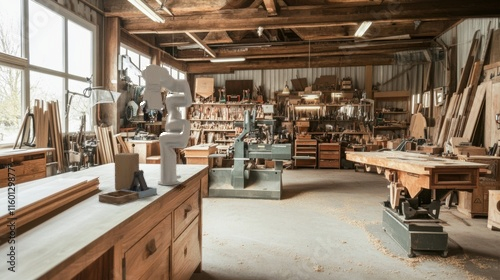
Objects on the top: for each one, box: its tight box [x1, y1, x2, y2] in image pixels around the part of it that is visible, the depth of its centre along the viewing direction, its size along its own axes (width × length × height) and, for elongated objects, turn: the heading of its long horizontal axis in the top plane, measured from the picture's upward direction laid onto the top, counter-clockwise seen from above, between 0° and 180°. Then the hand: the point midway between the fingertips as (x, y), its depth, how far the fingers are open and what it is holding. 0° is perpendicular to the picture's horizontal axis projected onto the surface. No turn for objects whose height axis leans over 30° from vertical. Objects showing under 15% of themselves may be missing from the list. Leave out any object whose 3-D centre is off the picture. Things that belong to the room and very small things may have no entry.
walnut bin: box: [98, 190, 139, 205], centre depth 153 cm, size 12×12×3 cm
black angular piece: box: [129, 169, 149, 192], centre depth 164 cm, size 9×6×12 cm, turn 88°
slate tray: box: [122, 185, 158, 199], centre depth 164 cm, size 12×12×3 cm
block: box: [114, 152, 140, 191], centre depth 177 cm, size 10×10×20 cm
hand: (152, 121), depth 168 cm, fingers open, 9 cm apart
